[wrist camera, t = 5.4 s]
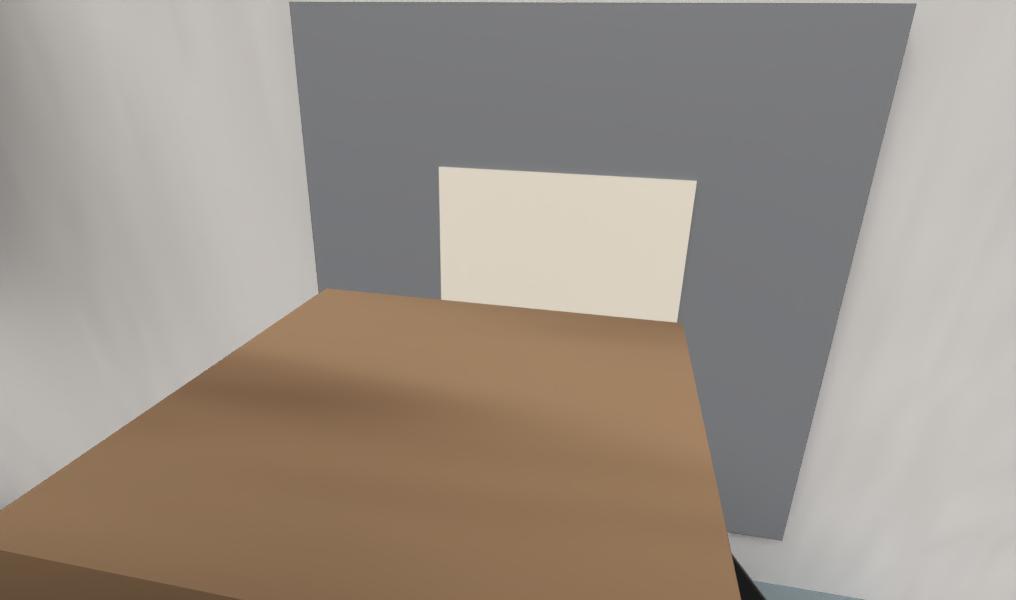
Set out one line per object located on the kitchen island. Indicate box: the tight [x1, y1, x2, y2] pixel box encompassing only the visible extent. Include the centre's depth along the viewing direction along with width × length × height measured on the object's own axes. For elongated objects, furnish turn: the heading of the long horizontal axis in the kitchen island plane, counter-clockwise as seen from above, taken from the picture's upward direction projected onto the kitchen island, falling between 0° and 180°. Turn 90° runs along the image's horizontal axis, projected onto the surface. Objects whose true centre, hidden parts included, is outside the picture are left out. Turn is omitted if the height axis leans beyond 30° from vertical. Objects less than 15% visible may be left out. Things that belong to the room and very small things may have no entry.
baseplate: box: [289, 2, 916, 540], centre depth 16 cm, size 14×14×1 cm
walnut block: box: [0, 288, 741, 600], centre depth 7 cm, size 5×5×5 cm
